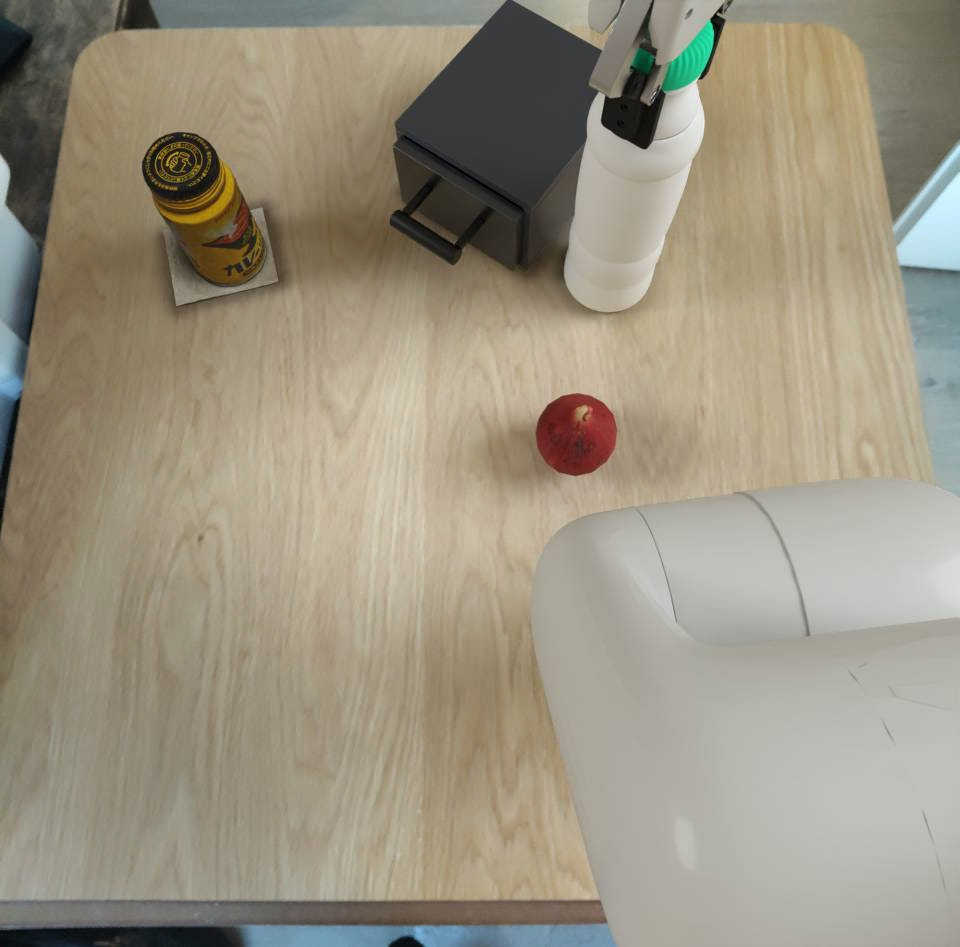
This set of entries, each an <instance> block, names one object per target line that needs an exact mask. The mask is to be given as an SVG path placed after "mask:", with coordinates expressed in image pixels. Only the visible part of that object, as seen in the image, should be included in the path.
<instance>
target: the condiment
mask: <svg viewBox="0 0 960 947" xmlns="http://www.w3.org/2000/svg"><path fill="white" fill-rule="evenodd" d="M141 172H142V176H143V179H144V183H145V184H146V186H147V187H148V188H149V190H150V193H151V197H152V202H153V204H154V206H155V208H156V211H157V212H158V213H159V215H160V216H161V218H162V220H163V221H164V222H165V224H166V226H167V227H168V228H165V229H162V235H163V239H164V244H165V250H166V254H167V261H168V264H169V271H170V274H171V275H170V276H171V277H170V278H171V283H172V289H173V294H174V301H175V306H176V307H178V306H183V305H186V304H191V303H196V302H198V301H202V300H206V299H211V298H215V297H220V296H225V295H230V294H235V293H239V292H242V291H247V290H250V289H256V288H260V287H263V286H268V285H271V284H275V283H277V282H279V278H278V272H277V267H276V263H275V259H274V253H273V249H272V244H271V241H270V240H271V239H270V235H269V231H268V227H267V223H266V218H265V214H264V208H263V207H262V206H261V207H258V208H254V209H251V208H250V207H249V205H248V203H247V201H246V199H245V196H244V194H243V193H242V190H241V189H240V187H239V184H238V182H237V180H236V179H237V178H236V177H235V176H234V174H233V172H232V170H231V168H230V167H229V166H228V164H226V163H225V162H224V161H222V160H221V158H220V157H219V155H218V153H217V150H216V149H215V148H214V146H213V145H212V143H211V142H210V141H208V140H207V139H205V138H204V137H202V136H201V135H199V134H197V133H194V132H189V131H176V132H171V133H166V134H164V135H163V136H160V137H158V138H157V139H155V141H153V142H152V144H151V145H150V146H149V147H148V149H147V150H146V152H145V154H144V157H143V159H142V160H141Z"/></svg>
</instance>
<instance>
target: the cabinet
mask: <svg viewBox="0 0 960 947" xmlns="http://www.w3.org/2000/svg"><path fill="white" fill-rule="evenodd" d="M602 50H603V49H601V48H599V47H598V46H596V45H594V44H592V43H590V42H588V41H587V40H584V39H583V38H581V37H580V36H577V35H575V34H574V33H572V32H570V31H569V30H567V29H565V28H563V27H562V26H559V24H556V23H554V22H552V21H551V20H549V19H547V18H545V17H544V16H542V15H540V14H538V13H536V12H534V11H533V10H531V9H529V8H527V7H525V6H524V5H522V4H520V3H518V2H517V1H514V0H505V1H504V2H503V4H501V6H500V7H498V9H497V10H496V11H495V12H494V14H492V15H491V16H490V18H489V19H488V20H487V21H486V22H485V23H484V24H483V25H482V26H481V27H480V28H479V29H478V31H477V32H476V33H475V34H474V35H473V37H471V38H470V40H468V42H467V43H466V44H465V45H464V46H463V47H462V48H461V49H460V50H459V52H457V54H456V55H455V56H454V57H453V58H452V59H451V60H450V61H449V63H447V65H446V66H445V67H444V68H443V69H442V70H441V71H440V72H439V73H438V74H437V76H436V77H435V78H434V79H433V80H432V81H431V82H430V83H429V84H428V85H427V86H426V87H425V89H424V90H423V91H422V92H421V93H420V94H419V95H418V96H417V97H416V98H415V100H414V101H413V102H412V103H411V104H410V105H409V106H408V107H407V108H406V109H405V110H404V111H403V113H402V114H401V115H400V116H399V117H398V118H397V119H396V120H395V121H394V128H395V133H396V134H395V135H396V141H397V140H398V139H399V138H400V137H401V136H404V137H406V138H407V139H409V140H410V141H412V142H414V143H415V144H417V145H418V146H420V147H422V146H423V147H425V148H426V149H428V150H429V151H431V152H433V153H434V154H436V155H438V156H439V157H441V158H442V159H444V160H446V161H447V162H449V163H451V164H452V165H454V166H455V167H457V168H459V169H460V170H462V171H464V172H465V173H467V174H468V175H470V176H472V177H473V178H475V179H477V180H478V181H480V182H481V183H483V184H485V185H486V186H488V187H490V188H491V189H493V190H494V191H496V192H498V193H499V194H501V195H503V196H504V197H506V198H507V199H509V200H511V201H512V202H514V203H516V204H517V205H519V206H520V207H522V208H523V210H524V227H523V243H522V259H521V262H520V264H519V265H518V267H520V268H521V269H523V270H525V271H526V272H528V271H529V270H530V268H531V267H532V266H533V265H534V263H535V262H536V261H537V259H538V258H539V257H540V256H541V255H542V254H543V252H544V251H545V250H546V249H547V247H548V246H549V245H550V243H552V241H553V240H554V239H555V237H556V236H557V235H558V234H559V232H560V231H562V229H563V227H565V225H566V224H567V223H568V221H569V220H570V219H571V218H572V217H573V216H574V215H575V201H576V192H577V185H578V178H579V172H580V166H581V161H582V156H583V152H584V147H585V144H586V140H587V120H588V114H589V111H590V108H591V105H592V103H593V101H594V99H595V97H596V96H597V94H598V93H599V91H597V90H595V89H593V88H592V87H590V86H589V80H590V77H591V75H592V72H593V70H594V68H595V66H596V63H597V61H598V59H599V57H600V54H601V52H602Z"/></svg>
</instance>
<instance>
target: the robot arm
mask: <svg viewBox="0 0 960 947" xmlns="http://www.w3.org/2000/svg"><path fill="white" fill-rule="evenodd" d="M733 2H734V0H589V2H588V9H587V22H588V26H589V28H590V30H592V31H594V32H596V33H598V34H599V35H603V34H604V33H605V32H606V30H608V28H609V27H610V26H611V25H612V24H613V25H612V28H611V30H610V31H609V34H608V37H607V39H606V41H605V44H604V45H603V48H602V49H601V50H602V52H601V54H600V57H599V59H598V61H597V63H596V66H595V68H594V70H593V72H592V75H591V77H590V80H589V86H590V87H592V88H593V89H595V90H597V91H599V92H600V93H602V94H604V95H605V99H604V105H603V110H602V116H601V124H602V125H603V126H604V127H605V128H606V129H608V130H610V131H611V132H612V133H613V134H615V135H616V136H618V137H620V138H621V139H624V140H627V141H629V142H631V143H632V144H634V145H636V146H637V147H639V148H641V149H644V150H645V149H647V148H648V147H649V146H650V145H651V143H652V142H653V139H654V135H655V132H656V128H657V125H658V121H659V117H660V114H661V110H662V107H663V103H664V99H665V96H666V93H664V92H663V90H661V86H662V84H663V81H664V78H665V76H666V73H667V71H668V68H669V65H670V63H671V61H673V60H674V59H676V58H677V57H678V56H679V55H680V54H681V53H682V52H683V51H684V50H685V48H686V47H687V46H688V45H689V44H690V43H691V41H692V40H693V39H694V38H695V37H696V35H697V34H698V33H699V32H700V31H701V29H702V28H703V27H704V26H705V25H706V23H707V22H708V21H709V20H710V22H711V23H712V26H713V30H714V41H713V47H712V51H711V54H710V57H709V59H708V62H707V64H706V66H705V68H704V70H703V71H702V73H701V75H700V77H699V79H698V80H697V81H701V80H704V78H705V77H706V76H707V75H708V74H709V72H710V69H711V66H712V64H713V60H714V57H715V54H716V51H717V48H718V45H719V43H720V39H721V36H722V33H723V30H724V27H725V24H726V21H727V19H726V18H724V17H722V16H725V15H726V13H727V12H728V11H729V9H730V8H731V6H732V4H733ZM718 14H720V15H721V16H720V15H718ZM613 22H614V23H613ZM639 48H641V49H643V50H644V51H646V52H648V53H650V54H652V55H653V57H654V61H653V64H652V66H651V69H650V72H649V74H647V73H645V72H643V71H641V70H639V69H638V68H636V67H634V66H632V65H631V64H632V61H633V59H634V57H635V55H636V53H637V51H638V49H639ZM530 623H531V633H532V634H531V635H532V642H533V647H534V653H535V658H536V663H537V666H538V672H539V677H540V680H541V684H542V689H543V692H544V696H545V701H546V703H547V707H548V711H549V715H550V719H551V722H552V726H553V729H554V733H555V738H556V741H557V745H558V749H559V752H560V757H561V761H562V764H563V769H564V772H565V776H566V780H567V783H568V788H569V790H570V791H569V792H570V795H571V799H572V803H573V807H574V810H575V814H576V818H577V823H578V826H579V830H580V834H581V838H582V842H583V846H584V849H585V853H586V857H587V860H588V865H589V868H590V871H591V876H592V878H593V880H594V885H595V887H596V891H597V894H598V898H599V900H600V903H601V906H602V910H603V913H604V916H605V919H606V923H607V925H608V928H609V931H610V933H611V937H612V939H613V941H614V943H615V946H616V947H960V496H958V495H957V494H955V493H953V492H950V491H948V490H946V489H944V488H941V487H938V486H936V485H934V484H930V483H927V482H925V481H919V480H914V479H910V478H901V477H892V476H863V477H861V476H860V477H847V478H837V479H835V478H834V479H827V480H819V481H817V480H816V481H809V482H801V483H794V484H793V483H792V484H787V485H778V486H772V487H765V488H755V489H749V490H740V491H734V492H733V493H727V494H726V493H725V494H719V495H711V496H705V497H704V496H703V497H697V498H689V499H680V500H672V501H665V502H658V503H657V502H656V503H650V504H640V505H633V506H628V507H622V508H616V509H610V510H605V511H599V512H595V513H590V514H586V515H583V516H580V517H578V518H575V519H573V520H571V521H569V522H568V523H566V524H565V525H563V526H561V527H560V528H559V529H557V531H556V532H555V533H554V534H552V536H551V537H550V538H549V540H548V541H547V542H546V544H545V546H544V547H543V548H542V550H541V553H540V555H539V558H538V560H537V563H536V566H535V570H534V573H533V578H532V584H531V598H530Z"/></svg>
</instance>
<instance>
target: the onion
mask: <svg viewBox="0 0 960 947" xmlns="http://www.w3.org/2000/svg"><path fill="white" fill-rule="evenodd" d="M617 436H618V427H617V423H616V419H615V415H614V413H613V412H612V410H611V409H610V408H609V407H608V406H607V405H606V404H605V403H604V402H603V401H602V400H600V399H598V398H597V397H594V396H593V395H589V394H584V393H579V392H575V393H569V394H564V395H561V396H559V397H558V398H556V399H554V400H553V401H551V402H549V403H548V404H547V405H546V406H545V408H544V409H543V411H542V413H540V415H539V417H538V419H537V423H536V428H535V441H536V446H537V450H538V452H539V454H540V456H541V457H542V459H543V460H544V462H545V463H546V464H547V465H548V466H549V467H551V468H552V469H553V470H555V471H557V473H559V474H562V475H563V474H564V475H567V476H573V477H580V476H583V475H584V476H585V475H588V474H592V473H593V472H595V471H596V470H598V469H599V468H600V467H602V466H603V465H604V464H606V463H607V462H608V460H609V459H610V457H611V455H612V453H613V452H614V450H615V448H616V445H617Z"/></svg>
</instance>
